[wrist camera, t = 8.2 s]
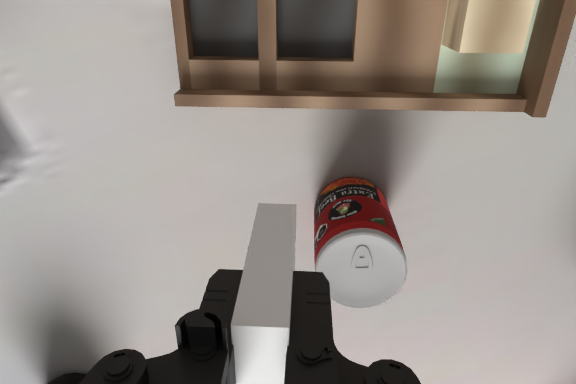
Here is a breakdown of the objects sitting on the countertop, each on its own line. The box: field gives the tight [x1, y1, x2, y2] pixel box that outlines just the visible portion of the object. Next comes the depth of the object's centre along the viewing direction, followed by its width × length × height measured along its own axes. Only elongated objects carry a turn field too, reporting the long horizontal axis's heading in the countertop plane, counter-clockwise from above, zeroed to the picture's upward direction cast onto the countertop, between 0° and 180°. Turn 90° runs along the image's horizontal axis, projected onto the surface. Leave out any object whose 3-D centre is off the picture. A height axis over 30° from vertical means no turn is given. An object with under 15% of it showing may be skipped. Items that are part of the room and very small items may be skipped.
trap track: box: [171, 0, 576, 117], centre depth 33 cm, size 30×14×6 cm, turn 90°
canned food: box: [314, 177, 407, 309], centre depth 39 cm, size 8×8×11 cm
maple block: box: [441, 0, 536, 53], centre depth 31 cm, size 4×4×4 cm
